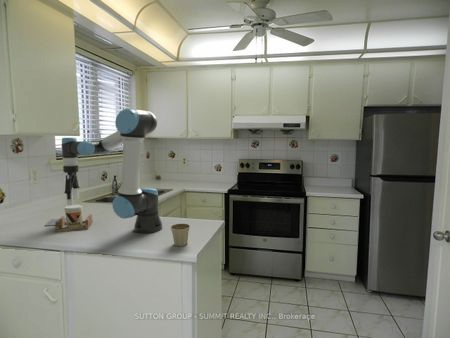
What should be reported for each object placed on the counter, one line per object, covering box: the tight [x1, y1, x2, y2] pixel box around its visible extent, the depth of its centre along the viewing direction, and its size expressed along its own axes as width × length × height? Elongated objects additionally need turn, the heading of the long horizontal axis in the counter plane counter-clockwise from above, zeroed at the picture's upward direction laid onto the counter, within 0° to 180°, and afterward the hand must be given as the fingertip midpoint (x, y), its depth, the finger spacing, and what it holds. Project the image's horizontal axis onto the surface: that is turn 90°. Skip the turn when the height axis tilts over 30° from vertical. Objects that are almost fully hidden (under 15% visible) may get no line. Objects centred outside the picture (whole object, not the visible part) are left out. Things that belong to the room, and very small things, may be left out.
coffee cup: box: [64, 204, 84, 229], centre depth 169 cm, size 9×9×12 cm
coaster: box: [43, 217, 67, 227], centre depth 179 cm, size 13×13×1 cm
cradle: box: [54, 214, 94, 233], centre depth 170 cm, size 15×16×5 cm
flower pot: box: [169, 223, 191, 247], centre depth 141 cm, size 9×9×9 cm
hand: (72, 202), depth 168 cm, fingers open, 13 cm apart
